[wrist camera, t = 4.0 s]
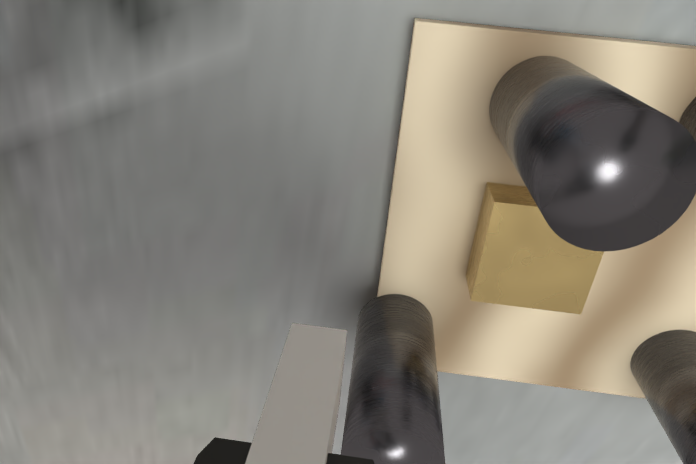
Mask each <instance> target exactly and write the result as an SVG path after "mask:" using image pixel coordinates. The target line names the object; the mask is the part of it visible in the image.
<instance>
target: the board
mask: <svg viewBox="0 0 696 464" xmlns="http://www.w3.org/2000/svg"><path fill="white" fill-rule="evenodd" d="M537 56H555V57H559V58H562V59H565V60H567V61H569V62H571V63H572V64H574V65H576V66H578V67H580V68H582V69H583V70H585V71H587V72H589V73H591V74H592V75H594V76H596V77H598V78H600V79H602V80H603V81H605V82H607V83H609V84H611V85H612V86H614V87H616V88H618V89H620V90H622V91H623V92H625V93H627V94H629V95H631V96H633V97H634V98H636V99H638V100H640V101H642V102H643V103H645V104H647V105H649V106H651V107H653V108H654V109H656V110H658V111H660V112H662V113H663V114H665V115H667V116H669V117H671V118H673V119H674V120H676V121H677V122H679V120H680V118H681V116H682V114H683V112H684V111H685V109H686V108H687V106H688V105H689V104H690V103H691V102H692V100H693V99H694V98H695V97H696V46H691V45H681V44H671V43H661V42H651V41H641V40H631V39H621V38H611V37H601V36H591V35H581V34H571V33H561V32H551V31H541V30H531V29H521V28H511V27H501V26H491V25H481V24H471V23H461V22H451V21H441V20H431V19H421V18H415V19H414V26H413V33H412V41H411V48H410V56H409V63H408V71H407V78H406V85H405V93H404V100H403V108H402V115H401V122H400V130H399V137H398V145H397V152H396V159H395V167H394V174H393V182H392V189H391V197H390V204H389V211H388V219H387V226H386V234H385V241H384V248H383V256H382V263H381V271H380V278H379V286H378V293H377V297H379V296H382V295H387V294H402V295H406V296H410V297H412V298H414V299H416V300H418V301H419V302H421V303H422V304H423V305H424V306H425V307H426V308H427V309H428V310H429V312H430V314H431V317H432V320H433V329H434V340H435V352H436V364H437V371H440V372H448V373H455V374H463V375H471V376H478V377H486V378H493V379H501V380H509V381H516V382H524V383H532V384H539V385H547V386H554V387H562V388H570V389H577V390H585V391H593V392H600V393H608V394H615V395H623V396H631V397H638V398H646V397H645V395H644V394H643V392H642V390H641V388H640V387H639V385H638V383H637V381H636V379H635V378H634V376H633V374H632V372H631V368H630V362H631V358H632V355H633V353H634V351H635V350H636V349H637V347H638V346H639V345H640V344H641V343H643V342H644V341H645V340H647V339H648V338H650V337H652V336H654V335H656V334H658V333H661V332H665V331H669V330H690V331H694V332H696V194H695V196H694V198H693V200H692V202H691V204H690V205H689V207H688V208H687V210H686V211H685V212H684V213H683V215H682V216H681V217H680V218H679V219H678V220H677V221H676V222H675V223H674V224H673V225H672V226H671V227H670V228H668V229H667V230H666V231H664V232H663V233H662V234H660V235H658V236H657V237H655V238H654V239H652V240H649V241H647V242H645V243H643V244H640V245H638V246H635V247H632V248H628V249H624V250H618V251H605V252H604V254H603V256H602V259H601V262H600V264H599V267H598V270H597V273H596V275H595V278H594V281H593V283H592V286H591V289H590V292H589V294H588V297H587V300H586V302H585V305H584V308H583V311H582V313H581V314H573V313H564V312H556V311H548V310H540V309H532V308H524V307H516V306H508V305H500V304H492V303H484V302H476V301H471V299H470V294H469V290H468V285H467V280H466V271H467V266H468V262H469V258H470V253H471V249H472V244H473V240H474V236H475V231H476V227H477V222H478V218H479V214H480V209H481V205H482V200H483V196H484V192H485V187H486V183H487V182H491V183H500V184H508V185H517V186H526V185H525V184H524V182H523V180H522V178H521V177H520V175H519V173H518V171H517V170H516V168H515V166H514V164H513V163H512V161H511V159H510V157H509V156H508V154H507V152H506V150H505V149H504V147H503V145H502V143H501V142H500V140H499V138H498V136H497V135H496V133H495V131H494V129H493V127H492V125H491V121H490V115H489V106H490V100H491V96H492V93H493V91H494V88H495V87H496V85H497V83H498V82H499V80H500V79H501V78H502V76H503V75H504V74H505V73H506V72H507V71H508V70H510V69H511V68H512V67H513V66H515V65H516V64H518V63H520V62H522V61H524V60H526V59H529V58H533V57H537Z"/></svg>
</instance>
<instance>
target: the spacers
mask: <svg viewBox="0 0 696 464" xmlns="http://www.w3.org/2000/svg"><path fill="white" fill-rule="evenodd" d="M489 115H490V121H491V125H492V127H493V129H494V131H495V133H496V135H497V136H498V138H499V140H500V142H501V143H502V145H503V147H504V149H505V150H506V152H507V154H508V156H509V157H510V159H511V161H512V163H513V164H514V166H515V168H516V170H517V171H518V173H519V175H520V177H521V178H522V180H523V182H524V184H525V185H526V187H527V189H528V191H529V192H530V194H531V196H532V198H533V199H534V201H535V203H536V205H537V206H538V208H539V210H540V212H541V213H542V215H543V217H544V219H545V220H546V222H547V224H548V225H549V227H550V228H551V229H552V230H553V231H554V232H555V233H556V234H557V235H558V236H559V237H560V238H561V239H563V240H565V241H566V242H568V243H570V244H572V245H574V246H576V247H579V248H583V249H586V250H592V251H603V252H605V251H618V250H624V249H628V248H632V247H635V246H638V245H640V244H643V243H645V242H647V241H649V240H652V239H654V238H655V237H657V236H658V235H660V234H662V233H663V232H664V231H666V230H667V229H668V228H670V227H671V226H672V225H673V224H674V223H675V222H676V221H677V220H678V219H679V218H680V217H681V216H682V215H683V213H684V212H685V211H686V210H687V208H688V207H689V205H690V204H691V202H692V200H693V198H694V196H695V194H696V97H695V98H694V99H693V100H692V102H691V103H690V104H689V105H688V106H687V108H686V109H685V111H684V112H683V114H682V116H681V118H680V120H679V122H677V121H676V120H674V119H673V118H671V117H669V116H667V115H665V114H663V113H662V112H660V111H658V110H656V109H654V108H653V107H651V106H649V105H647V104H645V103H643V102H642V101H640V100H638V99H636V98H634V97H633V96H631V95H629V94H627V93H625V92H623V91H622V90H620V89H618V88H616V87H614V86H612V85H611V84H609V83H607V82H605V81H603V80H602V79H600V78H598V77H596V76H594V75H592V74H591V73H589V72H587V71H585V70H583V69H582V68H580V67H578V66H576V65H574V64H572V63H571V62H569V61H567V60H565V59H562V58H559V57H555V56H537V57H533V58H529V59H526V60H524V61H522V62H520V63H518V64H516V65H515V66H513V67H512V68H511V69H510V70H508V71H507V72H506V73H505V74H504V75H503V76H502V78H501V79H500V80H499V82H498V83H497V85H496V87H495V88H494V91H493V93H492V96H491V100H490V106H489ZM630 368H631V372H632V374H633V376H634V378H635V379H636V381H637V383H638V385H639V387H640V388H641V390H642V392H643V394H644V395H645V397H646V399H647V401H648V402H649V404H650V406H651V408H652V409H653V411H654V413H655V415H656V416H657V418H658V420H659V422H660V423H661V425H662V427H663V429H664V430H665V432H666V434H667V436H668V437H669V439H670V441H671V443H672V444H673V446H674V448H675V450H676V452H677V453H678V455H679V457H680V459H681V460H682V462H683V464H696V332H694V331H690V330H669V331H665V332H661V333H658V334H656V335H654V336H652V337H650V338H648V339H647V340H645V341H644V342H643V343H641V344H640V345H639V346H638V347H637V349H636V350H635V351H634V353H633V355H632V358H631V362H630ZM341 455H345V456H352V457H359V458H365V459H372V460H373V461H374V463H375V464H445V456H444V444H443V433H442V421H441V410H440V398H439V387H438V375H437V364H436V352H435V340H434V329H433V320H432V317H431V314H430V312H429V310H428V309H427V308H426V307H425V306H424V305H423V304H422V303H421V302H419V301H418V300H416V299H414V298H412V297H410V296H406V295H402V294H387V295H382V296H379V297H377V298H375V299H373V300H371V301H370V302H368V303H367V304H366V305H365V306H364V307H363V309H362V310H361V312H360V314H359V318H358V324H357V332H356V340H355V348H354V355H353V363H352V371H351V379H350V387H349V395H348V403H347V411H346V418H345V426H344V434H343V442H342V450H341Z"/></svg>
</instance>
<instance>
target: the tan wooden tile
mask: <svg viewBox="0 0 696 464" xmlns="http://www.w3.org/2000/svg"><path fill="white" fill-rule="evenodd" d="M603 254H604V252H603V251H592V250H586V249H583V248H579V247H576V246H574V245H572V244H570V243H568V242H566V241H565V240H563V239H561V238H560V237H559V236H558V235H557V234H556V233H555V232H554V231H553V230H552V229H551V228H550V227H549V225H548V224H547V222H546V220H545V219H544V217H543V215H542V213H541V212H540V210H539V208H538V206H537V205H536V203H535V201H534V199H533V198H532V196H531V194H530V192H529V191H528V189H527V187H526V186H517V185H508V184H500V183H491V182H487V183H486V187H485V192H484V196H483V200H482V205H481V209H480V214H479V218H478V222H477V227H476V231H475V236H474V240H473V244H472V249H471V253H470V258H469V262H468V266H467V271H466V280H467V285H468V290H469V294H470V299H471V301H476V302H484V303H492V304H500V305H508V306H516V307H524V308H532V309H540V310H548V311H556V312H564V313H573V314H581V313H582V311H583V308H584V305H585V302H586V300H587V297H588V294H589V292H590V289H591V286H592V283H593V281H594V278H595V275H596V273H597V270H598V267H599V264H600V262H601V259H602V256H603Z"/></svg>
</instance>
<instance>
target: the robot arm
mask: <svg viewBox="0 0 696 464" xmlns="http://www.w3.org/2000/svg"><path fill="white" fill-rule="evenodd" d="M346 338H347V330H342V329H334V328H327V327H319V326H312V325H305V324H297V323H292V324H291V327H290V330H289V333H288V336H287V339H286V342H285V345H284V348H283V351H282V354H281V357H280V360H279V363H278V366H277V369H276V372H275V375H274V378H273V381H272V384H271V387H270V390H269V393H268V396H267V399H266V402H265V405H264V408H263V411H262V414H261V417H260V420H259V423H258V426H257V429H256V432H255V435H254V438H253V441H252V443H248V442H242V441H235V440H228V439H221V438H214V439H213V440H212V441H211V442H210V443H209V444H208V445H207V446H206V447H205V448H204V449H203V450H202V451H201V452H200V453H199V454H198V456H197V457H196V460H195V462H194V464H375V463H374V461H373V460H372V459H365V458H359V457H352V456H345V455H338V454H332V448H333V442H334V436H335V429H336V423H337V417H338V410H339V403H340V394H341V385H342V375H343V366H344V356H345V347H346Z"/></svg>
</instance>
